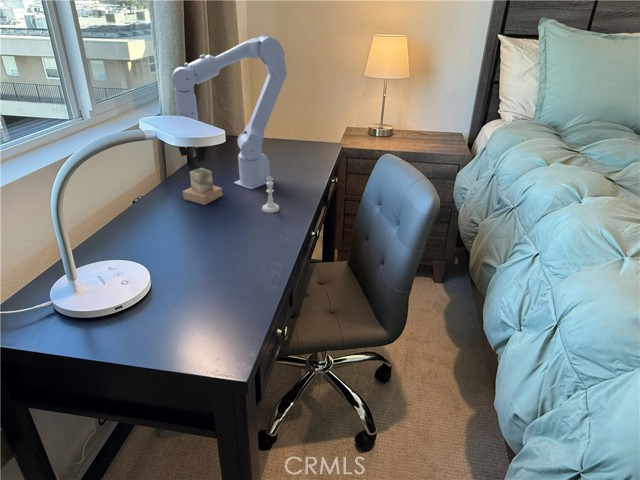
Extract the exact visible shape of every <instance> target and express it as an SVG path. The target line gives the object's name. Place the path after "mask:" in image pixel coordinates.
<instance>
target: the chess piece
mask: <svg viewBox="0 0 640 480" xmlns="http://www.w3.org/2000/svg"><path fill="white" fill-rule="evenodd" d="M267 180H269V182H267V183H266V184H265V185H266V186H267V189H266V191H265V192H266V193H268V195H267V202H266V204H265V203H264V204H263V205H262V206H261V207H262V208H261V210H262V212H264V213H267V214H273V213H277V212H279V211H280V206H279V205H278V204H277V203H275V202H274V198H273V193H274V192H275V190H274V189H273V187H274V182H273V180H274V178H273V177H271V175H270V176H269V178H267ZM271 180H272V181H271Z"/></svg>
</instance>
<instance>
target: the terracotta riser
mask: <svg viewBox="0 0 640 480" xmlns="http://www.w3.org/2000/svg"><path fill="white" fill-rule="evenodd" d="M182 196H183V200H185V201H189V202H192V203H196V204H200V205H203V206H206V205H207V204H209V203H211V202H213V201H215V200H217V199H219V198H221V197H223V188H222V187H220V186H217V185H213V189H211V190H208V191H206V192H203V193H199V192H197V191H195V190H193V189H192V187H189V188H186V189H184V190H182Z"/></svg>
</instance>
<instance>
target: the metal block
mask: <svg viewBox="0 0 640 480" xmlns="http://www.w3.org/2000/svg"><path fill="white" fill-rule="evenodd" d="M212 174H213V172H212V170H209V169H207V168H204V167H200V168H196V169H193V170H190V171H189V177H190V185H191V187H192V189H193V190H195V191H197V192H199V193H203V192H206V191H208V190H211V189H213V186H214V183H213V182H214V181H213V175H212ZM191 187H190V188H191Z"/></svg>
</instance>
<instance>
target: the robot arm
mask: <svg viewBox="0 0 640 480" xmlns="http://www.w3.org/2000/svg"><path fill="white" fill-rule="evenodd" d="M285 53H286V52H285V50H284V48H283V47H282V45H281V42H279V40H278V39H276V38H274V37H272V36H270V35H267V34H261V35H259V36H258V37H254V38H250V39H247V40H245V41H244V42H243V41H242V42H241V43H239V44H238V45H235V46H233V47H232V48H230V49H227V50H226V51H224V52H222V53H220V54H218V55H216V56H213V55H211V54H207V55H205V54H204V53H203V54H201V55H199V58H198V59H196V60H193V61H191V62H190V63H189V62H185V63H184V64H183V65H184V66H178V67H176V68H175V69H174V70H173V72H172V75H171V76H172V77H171V80H172V84H173V86H174V89H173V90H174V94H175V95H174V100H175V109H176V116H185V117H189V118H192V119H195V120H198V121H199V114H198V106H197V105H198V104H197V96H196V94H195V84H196V85H200V84H202V83H204V82H206V81H208V80H210V79H212V78H214V77H216V76H219V74H220V71H221V69H222V68H224V67H226V66H229V65H231V64H232V65H233V64H234V63H236V62H239V61H242V60H243V59H246V58H248V59H249V58H250V59H255V60H259V59H260V60H261V61H262V62H263V65H264V67H265V69H266V71H267V76H266V78H265V81H264V83H263V86H262V89H261V92H260V94H259V96H258V100H257V102H256V104H255V107H254V109H253V112H252V114H251V117H250V119H249V122H248V124H247V125H246V126H245V127H244V129H243V132H242V133H240V134H239V135H238V137H237V139H236V141H237V142H236V143H237V146H238V148H239V149H240V151H239V153H238V155H237V156H238V157H237V159H238V171H239V179H238V180H236V181H234V182H233V183H234V184H235V185H237V186H241V187H242V188H246V189H249V190H254V189H256V188H259V187H261V186H264V185H266V183H267V182H269V180H267V178H269V176H271V174H270V173H271V172H270V162H269V158H268V156H267V155H266V154H264V153H263V152H262V150H263V147H262V145H263V142H264V135H265V134H264V133H265V129H266V127H267V124H268V122H269V119H270V117H271V115H272V113H273V110H274V108H275V105H276V102H277V101H278V97H279V95H280V93H281V90H282V88H283V85H284V82H285V80H286V77H287V67H286V57H285ZM177 148H178V151H179V153H180V155H181V157H184V156H187V155H189V147H188V148H185V147H178V146H177ZM207 148H208V146H207V147H198V148H194V147H193V149H194V152H195V157H196V161H197V162H203V161H205V159H206V158H205V157H206V150H207ZM271 182H273V180H271Z"/></svg>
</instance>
